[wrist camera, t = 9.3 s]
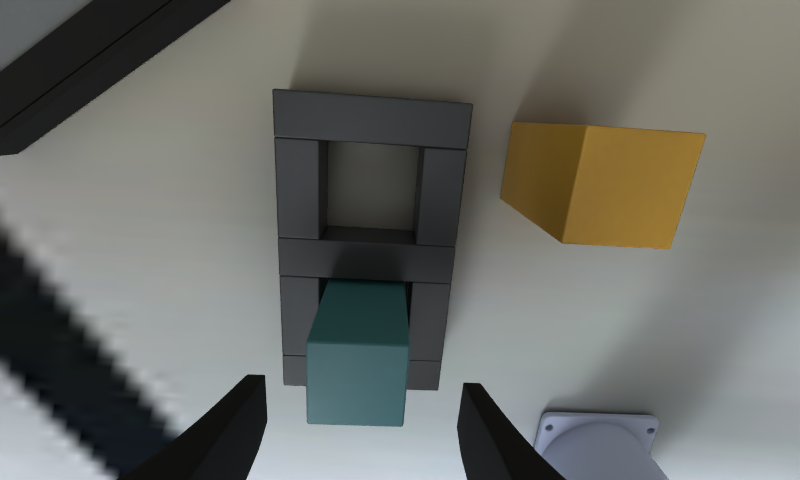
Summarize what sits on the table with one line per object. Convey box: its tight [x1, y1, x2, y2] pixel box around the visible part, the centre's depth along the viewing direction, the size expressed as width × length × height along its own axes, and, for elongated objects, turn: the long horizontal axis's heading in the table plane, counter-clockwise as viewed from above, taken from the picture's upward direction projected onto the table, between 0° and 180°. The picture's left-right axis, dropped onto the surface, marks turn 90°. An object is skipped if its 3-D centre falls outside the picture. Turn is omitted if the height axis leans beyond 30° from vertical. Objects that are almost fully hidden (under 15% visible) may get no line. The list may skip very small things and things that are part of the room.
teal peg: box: [306, 278, 410, 427], centre depth 18 cm, size 4×4×8 cm
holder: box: [272, 89, 473, 391], centre depth 19 cm, size 15×9×2 cm, turn 176°
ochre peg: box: [500, 122, 706, 249], centre depth 16 cm, size 4×4×8 cm
